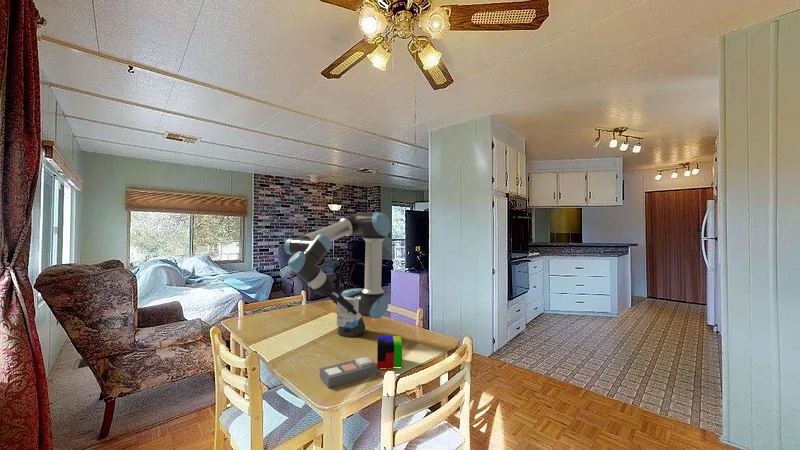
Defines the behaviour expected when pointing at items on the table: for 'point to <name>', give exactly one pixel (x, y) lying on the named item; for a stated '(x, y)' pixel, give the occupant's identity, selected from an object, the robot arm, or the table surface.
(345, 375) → the keypad
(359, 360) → the key
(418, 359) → the table surface
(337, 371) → the key
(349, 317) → the ink box
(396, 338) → the puzzle toy
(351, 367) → the middle key
